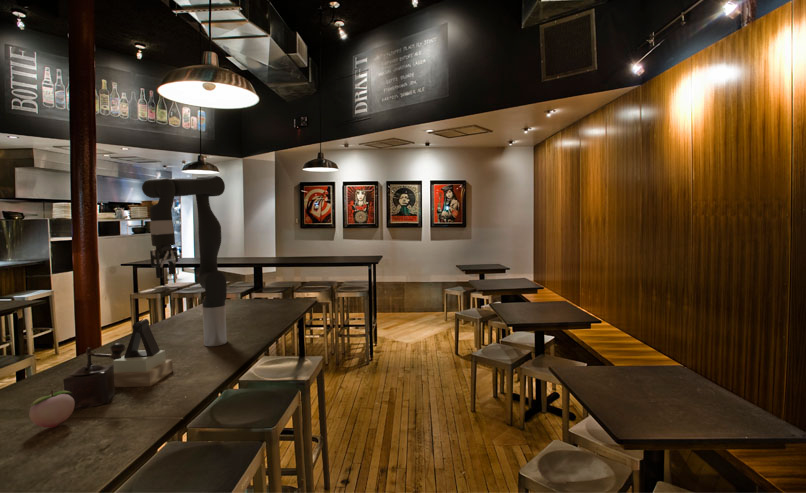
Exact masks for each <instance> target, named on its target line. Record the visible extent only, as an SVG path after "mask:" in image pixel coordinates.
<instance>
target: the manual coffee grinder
mask: <svg viewBox="0 0 806 493" xmlns="http://www.w3.org/2000/svg"><path fill="white" fill-rule="evenodd" d="M85 351H86V353H85V356H87V359H86V360H87V362H86V363H87V364H86V365H83V366H82V367H78V368H75V369H74V370H72V371H71V372H70V373H69V374H68V375H67V376H65V377H64V378H63V391H69V392H71V393H66V394H68V395H70V396H71V397H72V398H73V399H74V402H75V405H74V410H80V409H81V410H82V409H88V408H92V407H97V406H101V405H106V404H108V403H109V402H110V401H111V400H112V398H113V397H114V396H115V392H116V389H115V388H116V387H115V385H114V365H113V363H111V364H103V365H101V364H96V363H93V362H92V357H96V358H97V357H98V358H110V359H113V360H116V359H120V358H121V357H122V353H123V352H124V351H126V345H125V344H124V343H122V342H116V343H115V342H114V343H113V344H112V345H110V351H111V353H112V354H110V353H109V354H108V353H107V354H106V353H93V352H92V347H87V348H86V349H85Z"/></svg>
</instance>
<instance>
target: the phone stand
mask: <svg viewBox="0 0 806 493" xmlns="http://www.w3.org/2000/svg"><path fill="white" fill-rule="evenodd" d="M141 341H142V344H143V347H144V349H145V350H146V351H138V350H139V347H140V343H141ZM157 343H158V342H157V340H156V339H155V336H154V334H153V332H152V329H151V327H150V320H149V319H147V318H145V319H144V318H141V319H140V320H138V321H137V322H134V323H133V324H132V334H131V337H130V338H129V342H128V345H127V347H126V348H127V349H125V353H124V355H125V356H124V355H123V356H124V358H135V357H150V356H153V355H155V354H156V353H157V352H159V351H160V350H161V349H160V347H159V345H158V344H157Z"/></svg>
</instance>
